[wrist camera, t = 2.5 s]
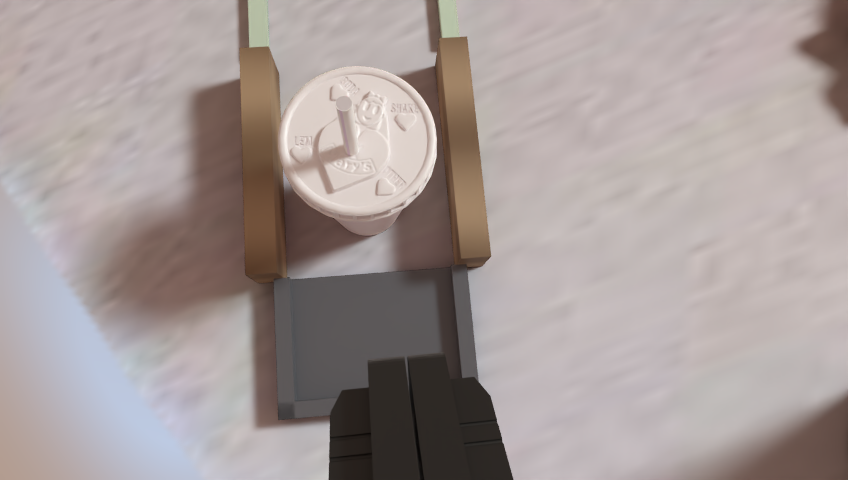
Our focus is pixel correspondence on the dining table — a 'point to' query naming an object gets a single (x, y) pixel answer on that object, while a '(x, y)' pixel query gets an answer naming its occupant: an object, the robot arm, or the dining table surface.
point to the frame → (261, 32)
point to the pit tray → (365, 331)
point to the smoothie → (358, 146)
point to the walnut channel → (267, 170)
